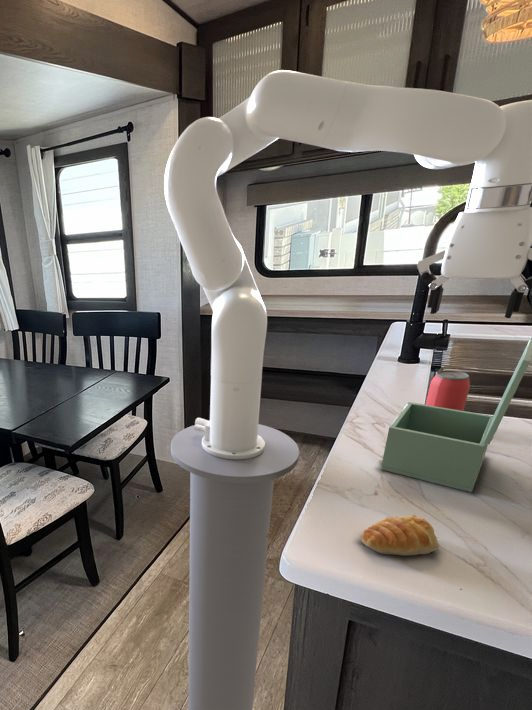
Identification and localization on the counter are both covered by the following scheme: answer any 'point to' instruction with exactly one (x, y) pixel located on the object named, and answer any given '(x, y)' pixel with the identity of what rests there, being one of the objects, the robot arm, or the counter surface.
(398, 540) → the pastry
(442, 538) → the counter surface
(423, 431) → the bin
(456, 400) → the beer can
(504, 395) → the bin lid
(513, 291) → the robot arm
